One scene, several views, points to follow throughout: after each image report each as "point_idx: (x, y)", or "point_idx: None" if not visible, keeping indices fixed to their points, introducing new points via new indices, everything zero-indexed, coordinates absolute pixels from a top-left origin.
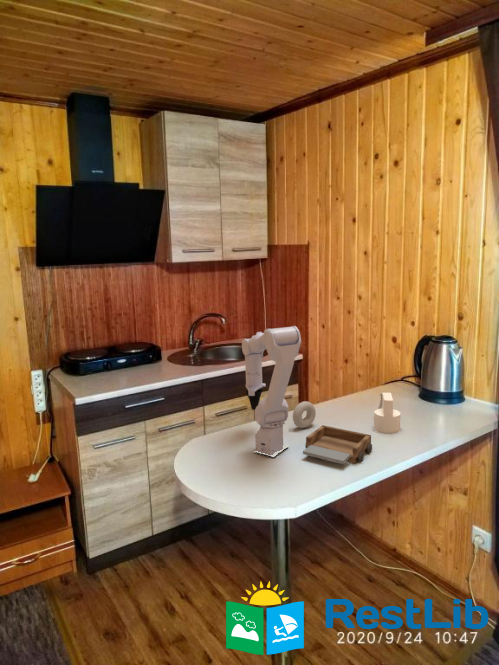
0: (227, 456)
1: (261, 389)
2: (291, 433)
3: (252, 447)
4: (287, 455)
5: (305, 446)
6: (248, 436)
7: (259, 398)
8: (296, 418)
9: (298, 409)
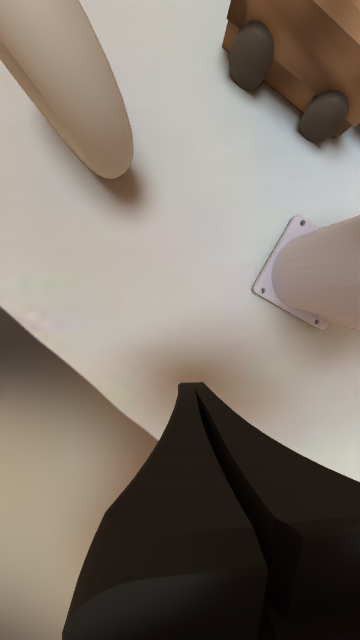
0: (330, 394)
1: (233, 594)
2: (163, 207)
3: (280, 338)
4: None
5: (331, 136)
6: (196, 363)
7: (259, 438)
8: (131, 139)
9: (97, 60)
